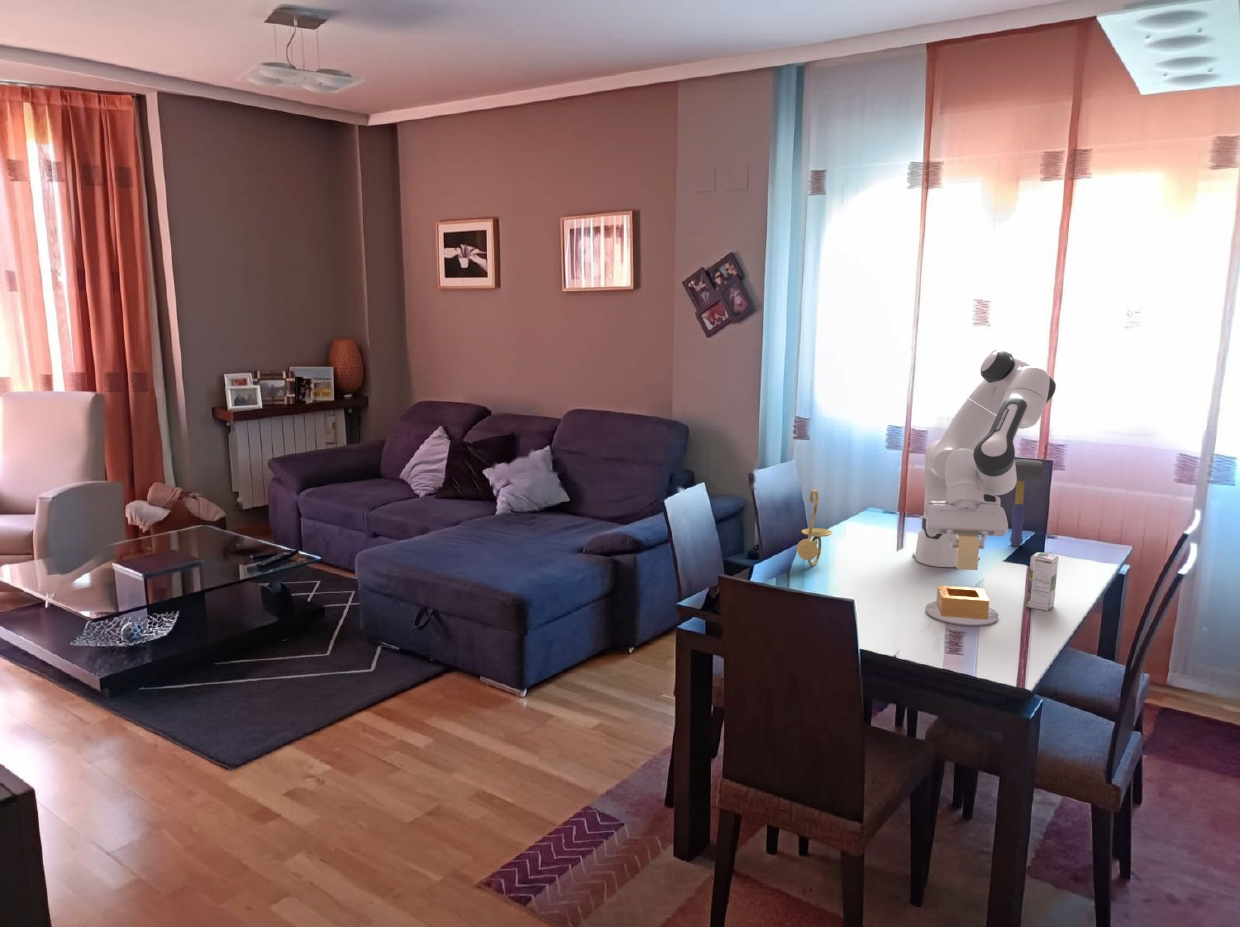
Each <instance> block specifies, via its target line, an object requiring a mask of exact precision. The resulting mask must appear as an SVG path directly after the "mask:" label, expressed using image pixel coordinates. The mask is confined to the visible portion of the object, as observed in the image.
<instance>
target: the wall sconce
mask: <svg viewBox="0 0 1240 927" xmlns="http://www.w3.org/2000/svg"><path fill="white" fill-rule="evenodd" d="M814 497H815V498H814ZM809 502H810V503H812V504H814V506H813V510H812V515H811V518H810V522H809V528H804V529H802V530H801V533H802V534H803V535H805V536H807V538H803V539H802V540H800V541H799V542H798V543H797V546H796V552H797V555H798V556H799V557H800V558H801V559H803V560H804V561H807V562H808V565H809V567H810V566H811V567H814V566H816V565H817V564H818V561H819V559H820V557H821V551H822V537H828V536H831V535H832V534H833V531H831V530H830V529H827V528H819V527H818V528H816V527H814V522H815V518H816V515H817V509H818V505H819V492H818V490H817V489H812V490H811V492H810V496H809ZM812 537H813V538H812ZM812 560H814V561H813V562H812Z"/></svg>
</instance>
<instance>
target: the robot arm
mask: <svg viewBox="0 0 1240 927" xmlns="http://www.w3.org/2000/svg"><path fill="white" fill-rule="evenodd" d="M980 376H981V377H982V378H983V380H982V381H981V382H980V383H979V384H978V386H976V387H975V389H974V390H973V391H972V392H971V394H970V395H969V396H967V399H966V400H965V401H964V403H963V404H962V405H961V407H960V408H959V409H958V411H957V412H956V413H955V415H954V416H953V418H952V419H951V422H950V423H949V425H948V427H947V428H946V431H945V432H944V433H943V436H942V437H941V438H940V439H937V440H935V441H933V442H931V443H930V444H929V445H928V447H927V448H926V450H925V456H924V457H925V458H924V459H925V460H924V463H925V464H924V506H923V507H924V508H923V516H922V519H921V529H922V530H920V531H919V532H918V534H917V541H916V548H915V551H914V552H912V554H911V555H912V557H913V558H915V561H917V562H918V563H919V564H923V565H926V566H932V567H939V568H956V548H957V547H958V539H957V533H975V534H978V535H979V536H980V539H979V550H984V549H985V542H986V541H987V539H988V536H990V537H1005V535H1006V534H1007V532H1008V530H1009V522H1008V519H1007V515H1006V512H1005V509H1004V507H1002V506H1001V501H1002V500H1001V498H1000V496H1003V495H1004V496H1005V495H1007V494H1009V493H1011V492H1012V491H1013V490H1014V489H1016V484H1017V475H1016V466H1015V459H1016V450H1015V446H1014V445H1015V444H1014V440H1015V437H1016V436H1017V433H1018V431H1019V430H1020V429H1021V430H1022V429H1023V430H1024V429H1028V428H1031V427H1034V426H1035V425H1036V424H1037V423H1038V421H1039V420H1040V419H1041V416H1042V415H1043V412H1044V410H1045V407H1046V405H1047V403H1049V401H1050V400H1051V399H1052V398H1053V396H1054V395H1055V392H1056V388H1057V384H1056V383H1057V382H1056V381H1055V380H1054V379H1053V378H1052V377H1051V376H1050V375H1049V374H1048V372H1046V370H1045V369H1043V368H1041V367H1039V366H1036V365H1034V364H1033V363H1031V362H1028V361H1026V359H1023V358H1021V357H1019V356H1017V355H1015V354H1013V353H1012V351H1009V350H1006V349H1003V348H1000V349H995V350H994V351H992V352H991V353H990V354H988V355H987V356H986V358H984V360H983V362H982V363H981V366H980ZM980 559H981V555H980V554H979V553H978V560H980Z"/></svg>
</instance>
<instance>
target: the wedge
mask: <svg viewBox="0 0 1240 927" xmlns="http://www.w3.org/2000/svg"><path fill="white" fill-rule="evenodd" d="M957 539H958V547H957V548H956V567H955V568H956V569H957V570H964V571H965V570H966V571H978V570H979V568H978V567H979V566H978V563H979V559H978V554H979V552H980V549H979V540H980V539H981V536H980V535H978V534H975V533H957Z"/></svg>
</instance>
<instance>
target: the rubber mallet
mask: <svg viewBox="0 0 1240 927" xmlns="http://www.w3.org/2000/svg"><path fill="white" fill-rule="evenodd" d="M1015 466H1016V475H1017V484H1016V486H1015V497H1014V498H1015V500H1014V504H1013V508H1012V513H1011V514H1012V515H1011V523H1012V524H1011V534H1010V537H1009V542H1010V544H1011V545H1012V546H1015V547H1018V546H1021V545H1022V544H1023V541H1024V539H1023V527H1024V526H1023V525H1024V520H1025V505H1024V495H1025V493H1024V492H1025V482H1040V481H1041V480H1042V478H1043V474H1044V473H1043V471H1044V470H1043V462H1042V461H1041V460H1036V459H1034V460H1033V459H1024V458H1023V459H1022V458H1019V459H1016V458H1015Z"/></svg>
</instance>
